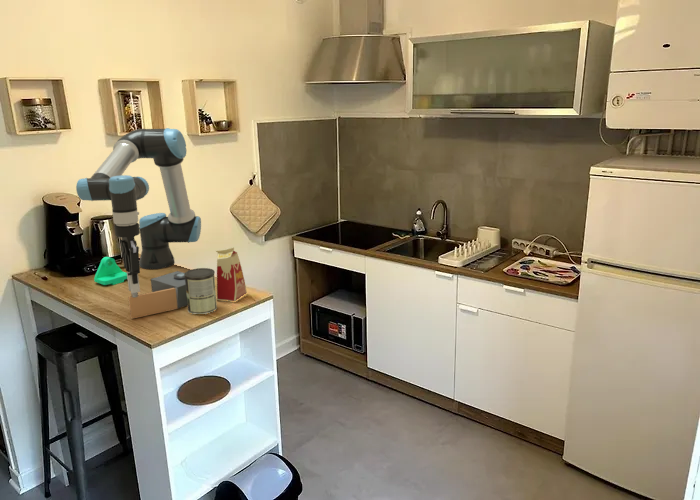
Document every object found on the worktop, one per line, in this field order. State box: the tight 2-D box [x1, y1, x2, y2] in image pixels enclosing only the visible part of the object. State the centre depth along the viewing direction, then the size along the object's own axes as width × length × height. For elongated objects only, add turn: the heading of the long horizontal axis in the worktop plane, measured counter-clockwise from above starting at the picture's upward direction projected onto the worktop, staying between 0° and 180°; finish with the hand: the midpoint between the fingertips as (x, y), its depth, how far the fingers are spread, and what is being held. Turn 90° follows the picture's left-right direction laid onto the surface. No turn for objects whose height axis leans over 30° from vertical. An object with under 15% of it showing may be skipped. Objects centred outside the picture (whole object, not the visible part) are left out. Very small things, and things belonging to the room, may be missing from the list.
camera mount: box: [93, 256, 128, 286], centre depth 221 cm, size 12×8×10 cm, turn 144°
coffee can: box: [183, 267, 218, 315], centre depth 190 cm, size 10×10×14 cm
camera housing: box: [150, 270, 188, 309], centre depth 201 cm, size 12×16×9 cm
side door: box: [128, 287, 180, 320], centre depth 186 cm, size 2×17×16 cm, turn 126°
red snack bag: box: [215, 247, 248, 301], centre depth 201 cm, size 9×9×20 cm
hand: (134, 290), depth 182 cm, fingers closed on side door, 2 cm apart
